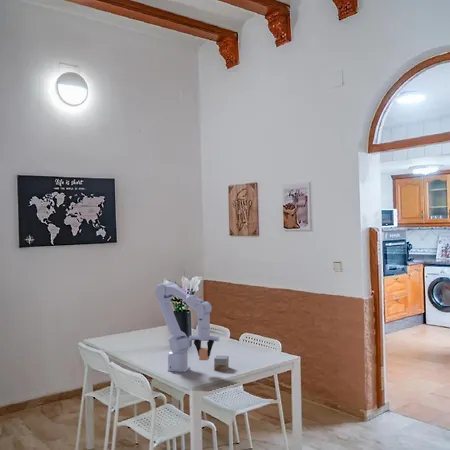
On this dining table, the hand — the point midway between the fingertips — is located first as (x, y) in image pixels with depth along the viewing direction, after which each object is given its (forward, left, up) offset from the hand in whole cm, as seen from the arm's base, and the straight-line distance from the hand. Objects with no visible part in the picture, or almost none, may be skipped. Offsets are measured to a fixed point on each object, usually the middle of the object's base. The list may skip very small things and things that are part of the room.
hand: (204, 355), depth 234 cm
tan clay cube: (0, 0, -2) cm, 2 cm away
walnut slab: (+6, +10, -9) cm, 15 cm away
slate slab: (+6, +10, -6) cm, 13 cm away
